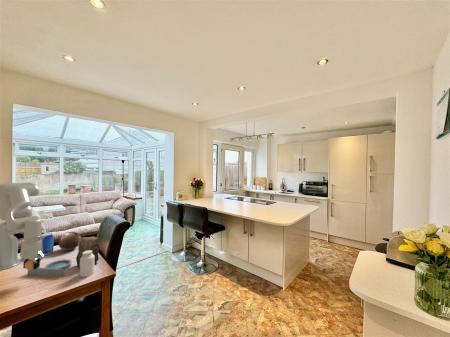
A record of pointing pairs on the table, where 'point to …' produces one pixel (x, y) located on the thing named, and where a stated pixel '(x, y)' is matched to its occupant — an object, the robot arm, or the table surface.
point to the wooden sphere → (69, 241)
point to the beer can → (47, 243)
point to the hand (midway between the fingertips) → (31, 267)
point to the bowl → (60, 264)
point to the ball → (29, 264)
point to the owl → (88, 248)
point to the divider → (46, 271)
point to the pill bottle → (87, 264)
